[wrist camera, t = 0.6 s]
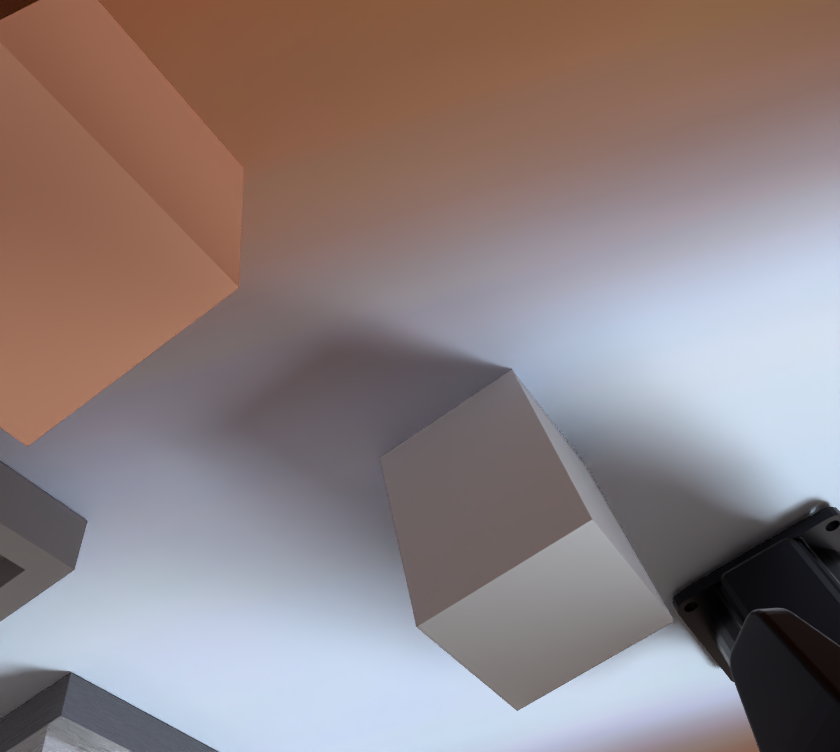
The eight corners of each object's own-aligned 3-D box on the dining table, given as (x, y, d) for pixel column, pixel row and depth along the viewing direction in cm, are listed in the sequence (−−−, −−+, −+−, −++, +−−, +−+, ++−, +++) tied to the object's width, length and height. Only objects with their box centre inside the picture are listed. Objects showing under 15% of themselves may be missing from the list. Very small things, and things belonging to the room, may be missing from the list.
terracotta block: (243, 168, 17) (239, 287, 12) (92, 287, 17) (27, 446, 12) (79, -21, 14) (-15, 27, 9) (-87, 127, 15) (-256, 244, 10)
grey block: (584, 464, 23) (674, 621, 18) (462, 540, 24) (517, 710, 19) (511, 368, 21) (592, 519, 16) (379, 456, 22) (416, 626, 17)
